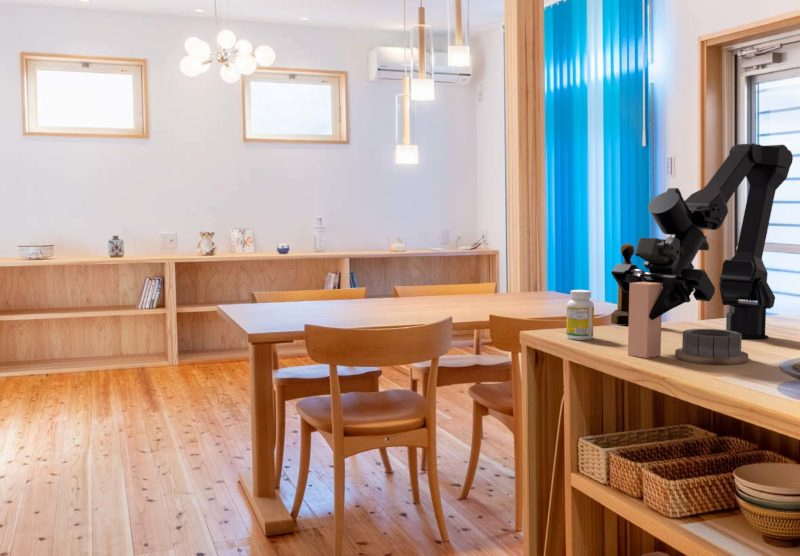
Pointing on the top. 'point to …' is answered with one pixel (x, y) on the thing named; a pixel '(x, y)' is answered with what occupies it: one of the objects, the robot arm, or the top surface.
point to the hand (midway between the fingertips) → (640, 316)
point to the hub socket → (711, 347)
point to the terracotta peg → (644, 320)
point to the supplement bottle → (580, 315)
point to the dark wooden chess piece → (623, 298)
